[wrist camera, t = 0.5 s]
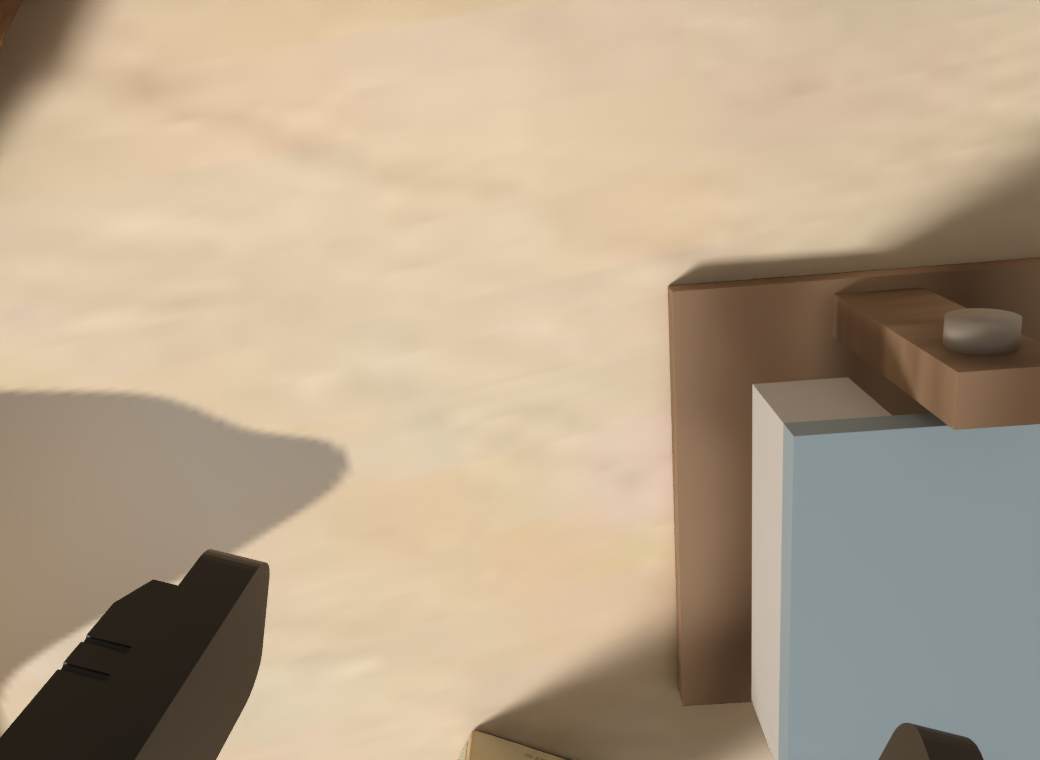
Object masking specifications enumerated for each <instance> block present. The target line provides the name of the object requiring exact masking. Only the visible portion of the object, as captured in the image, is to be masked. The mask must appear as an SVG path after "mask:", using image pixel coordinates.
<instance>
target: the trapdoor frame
mask: <svg viewBox="0 0 1040 760" xmlns="http://www.w3.org/2000/svg"><path fill="white" fill-rule="evenodd" d="M668 305H669V341H670V378H671V415H672V452H673V489H674V526H675V562H676V599H677V636H678V673H679V692H680V696H681V700H682V704H683V706H690V705H707V704H724V703H741V702H752V700H751V687H752V384H761V383H775V382H789V381H803V380H817V379H831V378H845V377H848V378H849V379H850V380H852V381H853V382H854V383H855V384H856V385H857V386H859V387H860V388H861V389H862V390H863V391H864V392H866V393H867V394H868V395H869V396H870V397H871V398H872V399H874V400H875V401H876V402H877V403H878V404H879V405H881V406H882V407H883V408H884V409H885V410H886V411H888V412H889V413H890V414H891V415H907V414H921V413H932V414H934V415H935V416H936V417H938V418H939V419H940V420H942V421H943V422H944V423H945V424H947V425H948V426H949V427H951V428H952V429H953V430H961V429H976V428H990V427H1005V426H1019V425H1034V424H1040V258H1032V259H1018V260H1005V261H992V262H979V263H965V264H952V265H939V266H926V267H912V268H899V269H886V270H873V271H859V272H846V273H833V274H820V275H806V276H793V277H780V278H767V279H753V280H740V281H727V282H714V283H700V284H687V285H674V286H668Z"/></svg>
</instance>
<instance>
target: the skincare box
mask: <svg viewBox="0 0 1040 760" xmlns="http://www.w3.org/2000/svg"><path fill="white" fill-rule="evenodd" d="M459 760H565V759H563V758H560V757H557V756H554V755H551V754H548V753H545V752H542V751H538V750H535V749H532V748H529V747H526V746H523V745H520V744H517V743H514V742H511V741H507V740H505V739H502V738H499V737H496V736H492V735H489V734H486V733H483V732H479V731H473V732H472V733H471V735H470V737H469V739H468V741H467V744H466V746H465V748H464V750H463V752H462V754H461V756H460V759H459Z"/></svg>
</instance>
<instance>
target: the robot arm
mask: <svg viewBox="0 0 1040 760" xmlns="http://www.w3.org/2000/svg"><path fill="white" fill-rule="evenodd" d="M268 586H269V565H268V564H267V563H265V562H261V561H257V560H253V559H249V558H245V557H241V556H237V555H233V554H229V553H225V552H221V551H216V550H212V549H209V550H207V551H205V552H204V553H203V554H202V555H201V556H200V558H199V559H198V560H197V562H196V563H195V564H194V566H193V567H192V568H191V570H190V571H189V572H188V573H187V575H186V576H185V577H184V579H183V580H182V581H181V583H180V584H179V585H178V586H177V585H173V584H169V583H165V582H161V581H157V580H152V581H150V582H148V583H147V584H145V585H143V586H142V587H140V588H138V589H136V590H135V591H133V592H131V593H130V594H128V595H126V596H125V597H123V598H121V599H120V600H118V601H116V602H115V603H113V604H112V606H111V607H110V608H109V609H108V610H107V611H106V613H105V614H104V615H103V616H102V617H101V619H100V620H99V621H98V622H97V623H96V625H95V626H94V627H93V628H92V629H91V631H90V632H89V633H88V634H87V635H86V639H85V641H84V642H80V644H79V645H78V646H77V647H76V648H75V650H74V651H73V652H72V653H71V654H70V655H69V657H68V658H67V659H66V660H65V661H64V664H63V667H62V669H61V670H57V671H56V672H55V673H54V674H53V676H52V677H51V678H50V679H49V680H48V682H47V683H46V684H45V685H44V686H43V688H42V689H41V690H40V691H39V692H38V694H37V695H36V696H35V697H34V698H33V699H32V701H31V702H30V703H29V704H28V705H27V707H26V708H25V709H24V710H23V711H22V713H21V714H20V715H19V716H18V717H17V718H16V720H15V721H14V722H13V723H12V724H11V726H10V727H9V728H8V729H7V730H6V732H5V733H4V734H3V735H2V736H1V737H0V760H216V758H217V757H218V755H219V753H220V751H221V749H222V747H223V745H224V744H225V742H226V740H227V738H228V736H229V734H230V732H231V731H232V729H233V727H234V725H235V723H236V721H237V719H238V718H239V716H240V714H241V712H242V710H243V708H244V706H245V704H246V702H247V700H248V698H249V696H250V693H251V691H252V688H253V686H254V683H255V680H256V677H257V673H258V670H259V666H260V661H261V656H262V648H263V637H264V627H265V617H266V606H267V596H268ZM879 760H984V759H983V757H982V755H981V752H980V750H979V749H978V747H977V745H976V744H975V743H974V742H973V741H972V740H971V739H970V738H967V737H965V736H960V735H956V734H952V733H948V732H944V731H940V730H936V729H932V728H928V727H924V726H920V725H916V724H912V723H902V724H901V725H899V726H898V727H897V728H896V729H895V731H894V732H893V734H892V736H891V738H890V740H889V741H888V743H887V745H886V747H885V749H884V750H883V752H882V754H881V756H880V758H879Z"/></svg>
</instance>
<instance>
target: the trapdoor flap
mask: <svg viewBox="0 0 1040 760" xmlns="http://www.w3.org/2000/svg"><path fill="white" fill-rule="evenodd" d="M751 700H752V703H753V706H754V708H755V711H756V714H757V716H758V719H759V722H760V725H761V727H762V730H763V733H764V735H765V738H766V741H767V743H768V746H769V749H770V751H771V754H772V757H773V760H879V758H880V756H881V754H882V752H883V750H884V749H885V747H886V745H887V743H888V741H889V740H890V738H891V736H892V734H893V732H894V731H895V729H896V728H897V727H898V726H899V725H901V724H902V723H912V724H916V725H920V726H924V727H928V728H932V729H936V730H940V731H944V732H948V733H952V734H956V735H960V736H965V737H967V738H970V739H971V740H972V741H973V742H974V743H975V744H976V745H977V747H978V749H979V750H980V752H981V755H982V757H983V759H984V760H1040V424H1034V425H1019V426H1005V427H990V428H976V429H961V430H953V429H952V428H951V427H949V426H948V425H947V424H945V423H944V422H943V421H942V420H940V419H939V418H938V417H936V416H935V415H934V414H932V413H921V414H907V415H891V414H890V413H889V412H888V411H886V410H885V409H884V408H883V407H882V406H881V405H879V404H878V403H877V402H876V401H875V400H874V399H872V398H871V397H870V396H869V395H868V394H867V393H866V392H864V391H863V390H862V389H861V388H860V387H859V386H857V385H856V384H855V383H854V382H853V381H852V380H850V379H849V378H848V377H845V378H831V379H817V380H803V381H789V382H775V383H761V384H752V687H751Z"/></svg>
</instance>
